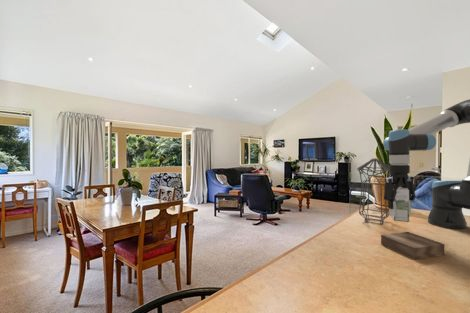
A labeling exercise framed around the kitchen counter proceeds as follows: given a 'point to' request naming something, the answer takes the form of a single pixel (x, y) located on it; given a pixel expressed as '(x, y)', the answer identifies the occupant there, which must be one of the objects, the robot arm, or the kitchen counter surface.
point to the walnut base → (412, 245)
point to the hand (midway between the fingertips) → (400, 215)
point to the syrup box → (402, 205)
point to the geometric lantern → (369, 187)
